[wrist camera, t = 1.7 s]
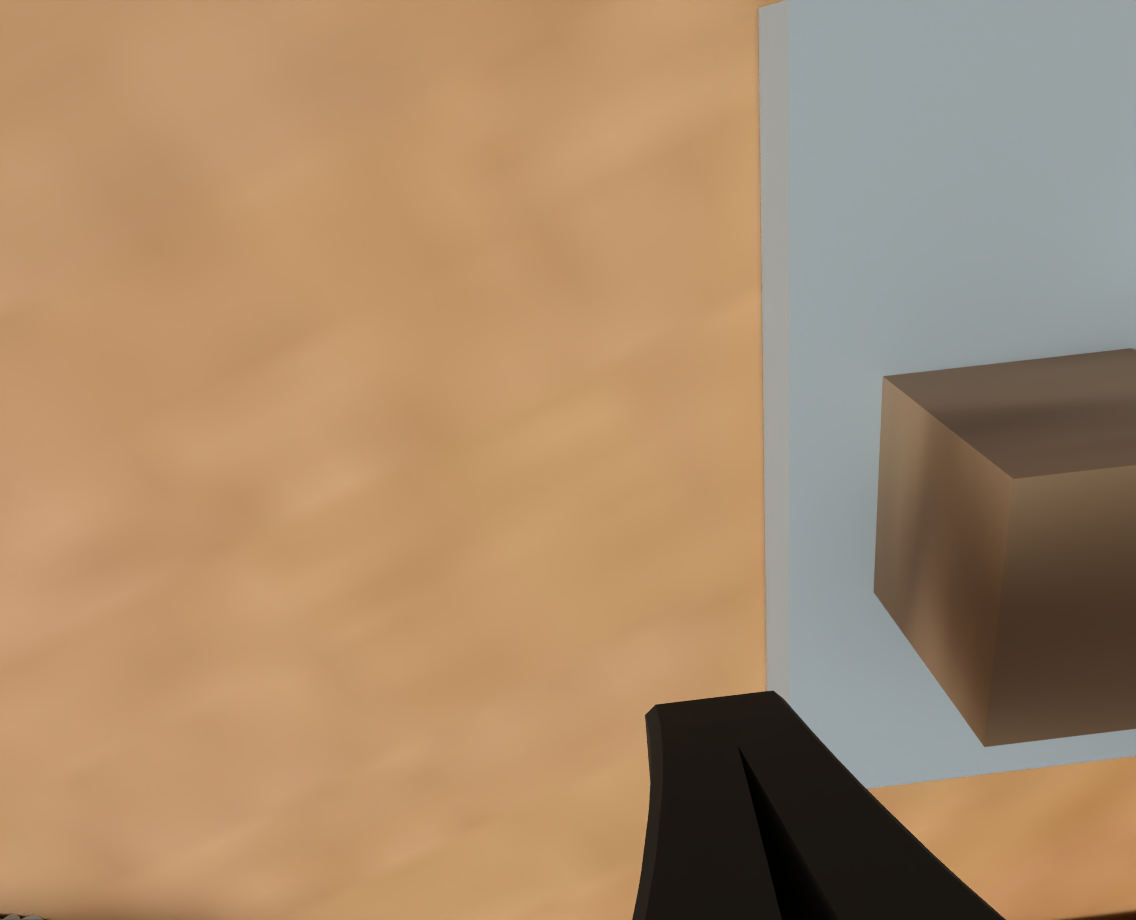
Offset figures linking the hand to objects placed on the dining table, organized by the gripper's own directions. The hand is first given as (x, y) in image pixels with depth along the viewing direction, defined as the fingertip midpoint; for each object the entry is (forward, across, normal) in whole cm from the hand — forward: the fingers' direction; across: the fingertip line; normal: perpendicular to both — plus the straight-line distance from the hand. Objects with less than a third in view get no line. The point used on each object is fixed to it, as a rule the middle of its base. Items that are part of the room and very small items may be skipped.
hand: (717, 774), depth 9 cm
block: (+6, -6, 0) cm, 9 cm away
